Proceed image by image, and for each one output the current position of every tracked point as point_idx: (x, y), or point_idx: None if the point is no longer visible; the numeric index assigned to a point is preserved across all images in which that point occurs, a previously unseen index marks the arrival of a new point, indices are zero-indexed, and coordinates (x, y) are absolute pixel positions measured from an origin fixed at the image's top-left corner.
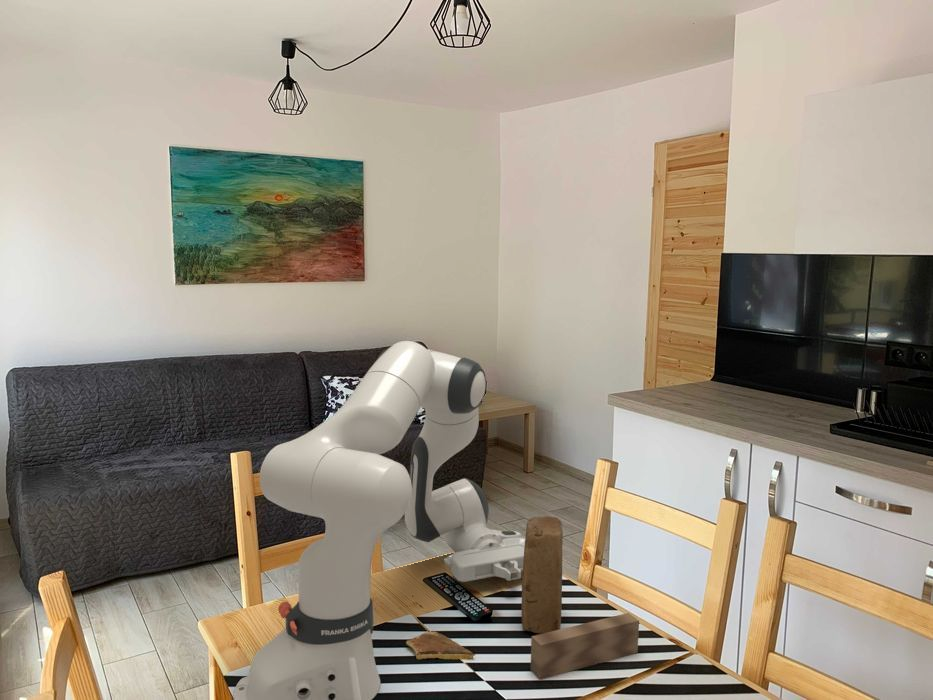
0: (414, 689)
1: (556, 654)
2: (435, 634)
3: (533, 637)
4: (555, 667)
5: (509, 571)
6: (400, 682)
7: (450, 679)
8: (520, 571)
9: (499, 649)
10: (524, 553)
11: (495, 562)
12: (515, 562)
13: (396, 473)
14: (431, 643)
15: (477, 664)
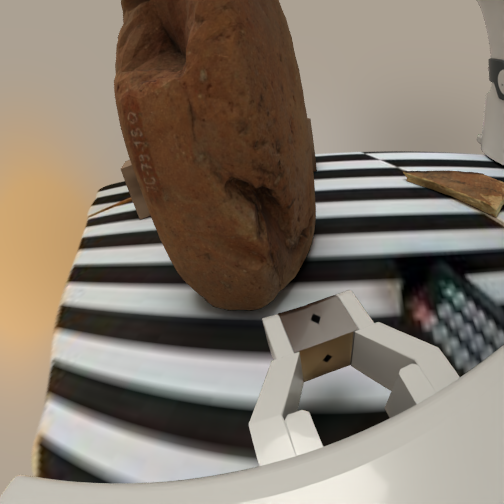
0: (453, 154)
1: None
2: (487, 199)
3: (307, 118)
4: None
5: (341, 301)
6: (473, 160)
7: (422, 160)
8: (265, 319)
9: (366, 194)
10: (286, 21)
11: (451, 383)
12: (267, 425)
13: None
14: (477, 180)
15: (396, 174)
